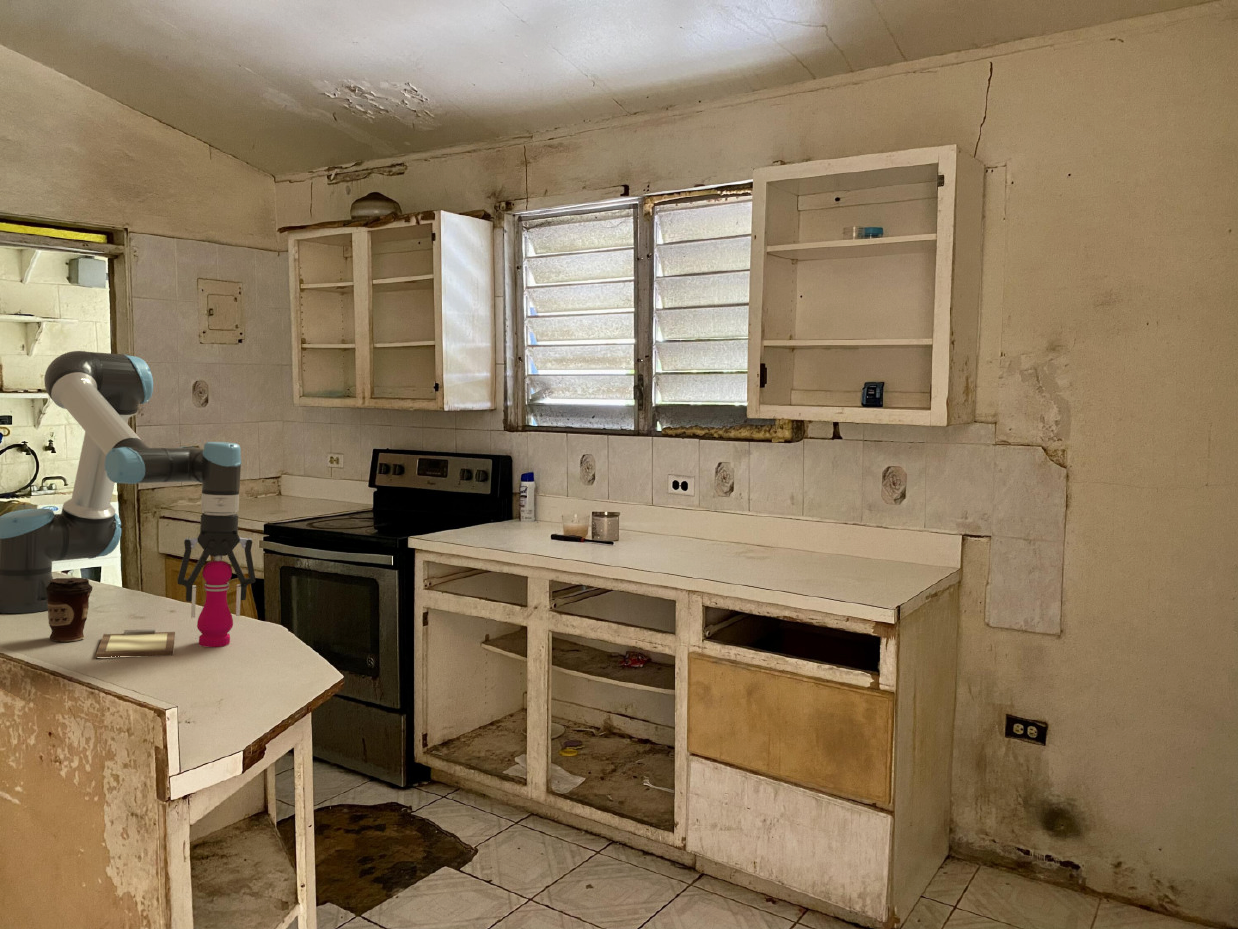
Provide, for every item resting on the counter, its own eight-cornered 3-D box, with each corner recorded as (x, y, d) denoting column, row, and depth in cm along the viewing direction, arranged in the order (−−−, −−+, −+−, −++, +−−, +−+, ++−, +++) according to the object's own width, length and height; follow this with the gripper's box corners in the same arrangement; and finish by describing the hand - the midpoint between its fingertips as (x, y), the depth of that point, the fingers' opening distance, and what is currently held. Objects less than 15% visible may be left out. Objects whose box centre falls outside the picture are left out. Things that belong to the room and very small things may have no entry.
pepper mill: (239, 642, 203) (243, 553, 202) (215, 649, 196) (219, 557, 195) (213, 637, 205) (217, 550, 204) (188, 645, 198) (192, 554, 197)
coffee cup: (67, 646, 191) (69, 585, 190) (33, 641, 193) (35, 581, 192) (98, 636, 200) (100, 578, 199) (66, 632, 201) (68, 574, 201)
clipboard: (103, 638, 198) (103, 630, 198) (174, 636, 204) (175, 628, 204) (95, 659, 184) (96, 650, 184) (173, 655, 190) (173, 646, 190)
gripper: (165, 514, 191) (161, 621, 192) (272, 515, 200) (268, 617, 201) (166, 510, 198) (162, 613, 199) (270, 511, 207) (265, 610, 208)
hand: (215, 615), depth 200 cm, fingers open, 8 cm apart
